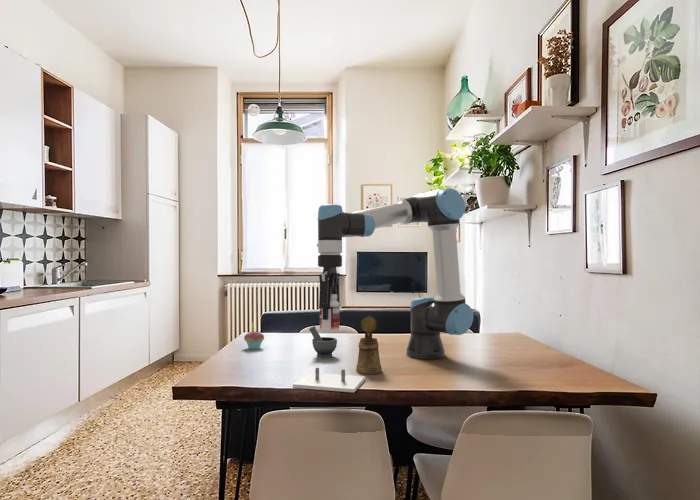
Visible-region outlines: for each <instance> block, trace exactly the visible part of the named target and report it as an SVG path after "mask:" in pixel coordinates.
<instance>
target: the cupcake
mask: <svg viewBox="0 0 700 500" xmlns="http://www.w3.org/2000/svg"><path fill="white" fill-rule="evenodd" d="M251 325H252V328H251V330H252V331H249V332H247V333H246V334H245V335H244V336H243V337H244V338H243V340H244V341H245V342H246V344H247V347H248V349H249V350H258V349H261V345H262V343H263V341H264V340H265V336H264V334H263V333H261V332H259V331H255V323H254V322H252V323H251Z"/></svg>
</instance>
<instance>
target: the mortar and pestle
mask: <svg viewBox="0 0 700 500" xmlns="http://www.w3.org/2000/svg"><path fill="white" fill-rule="evenodd" d="M308 331H309V332H310V333H311V335H312V337H313V338H312V339H311V340H312V341H311V342H312V348H313V349H314V351H315V352H316V358H317V357H318V359H324V358H326V359H331V358H333V353H334V351H336V348H337V344H338V339H337V338H336V337H331V336H329V337H327V336H326V337H325V336H322V337H321V335H320V333H319V332H318V330H317V329H316V325H313V326H311V327H309V329H308Z"/></svg>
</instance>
